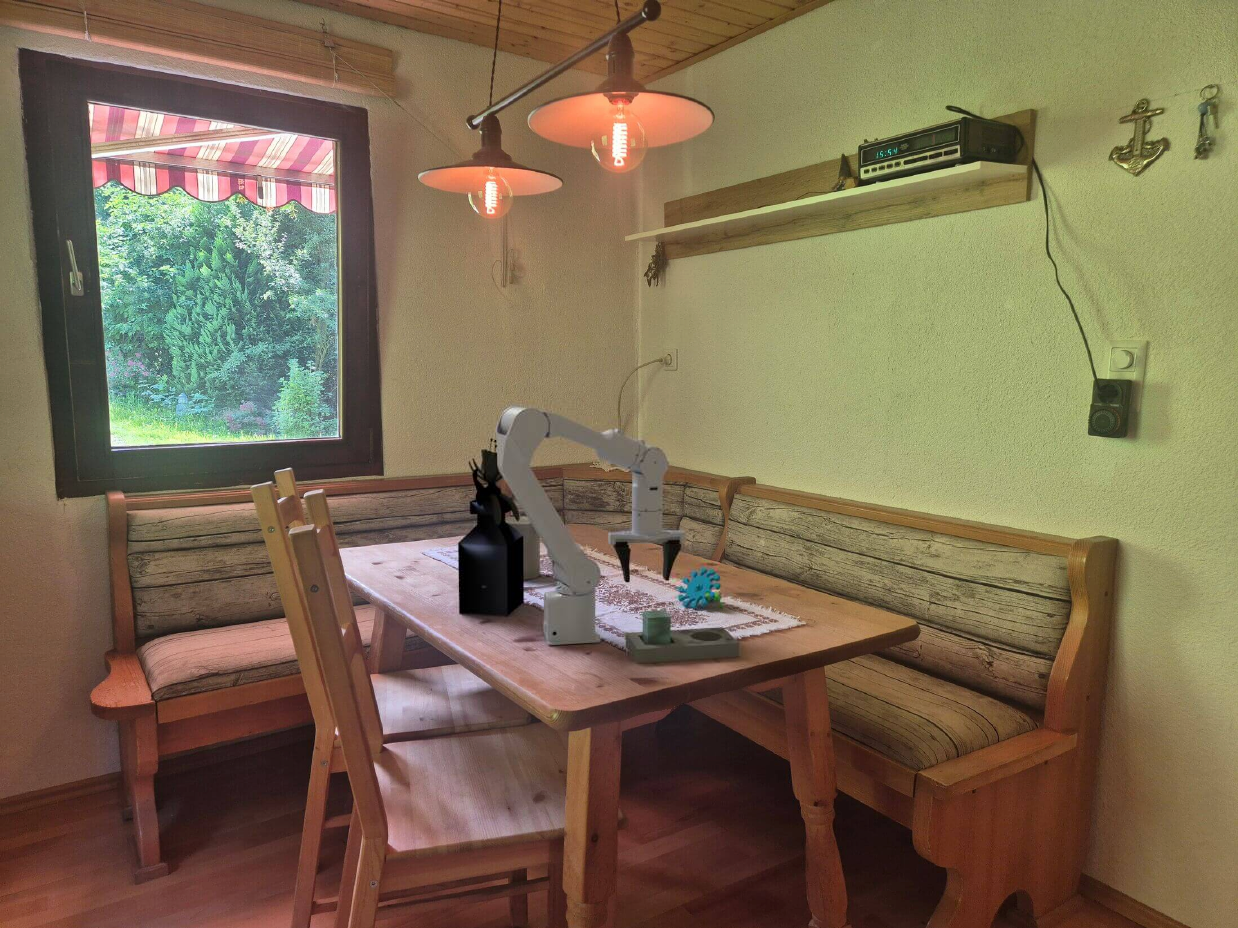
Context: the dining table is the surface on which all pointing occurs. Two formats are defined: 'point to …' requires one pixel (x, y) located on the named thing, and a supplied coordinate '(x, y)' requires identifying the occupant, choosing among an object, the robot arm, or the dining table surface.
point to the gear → (701, 589)
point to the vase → (491, 549)
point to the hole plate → (684, 646)
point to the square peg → (656, 627)
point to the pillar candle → (528, 545)
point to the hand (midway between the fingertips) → (646, 580)
